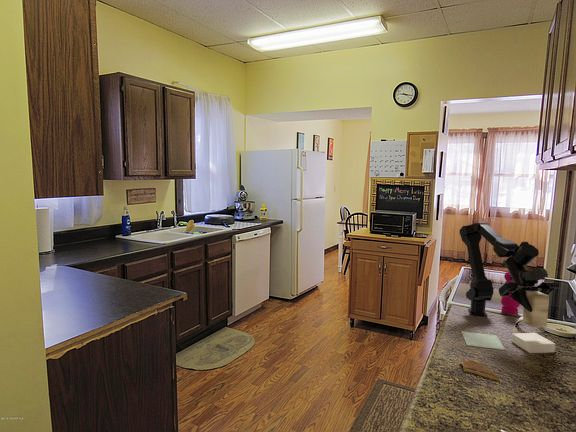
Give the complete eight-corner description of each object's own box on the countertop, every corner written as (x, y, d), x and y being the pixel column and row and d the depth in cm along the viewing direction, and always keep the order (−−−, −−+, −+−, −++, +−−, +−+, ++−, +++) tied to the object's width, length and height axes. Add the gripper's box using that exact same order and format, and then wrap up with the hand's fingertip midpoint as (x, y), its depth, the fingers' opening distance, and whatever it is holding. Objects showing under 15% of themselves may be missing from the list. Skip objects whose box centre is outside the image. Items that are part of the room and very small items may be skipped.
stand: (511, 341, 135) (512, 333, 135) (534, 340, 136) (535, 332, 136) (530, 353, 126) (530, 344, 126) (554, 352, 127) (555, 343, 127)
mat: (461, 332, 143) (461, 331, 143) (496, 336, 140) (496, 335, 140) (467, 345, 131) (467, 344, 131) (505, 350, 128) (505, 349, 128)
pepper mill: (522, 315, 161) (526, 269, 159) (506, 314, 161) (509, 269, 159) (513, 309, 168) (516, 265, 166) (496, 309, 168) (500, 265, 166)
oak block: (522, 321, 132) (524, 291, 131) (535, 321, 133) (538, 291, 132) (533, 327, 127) (535, 296, 126) (546, 326, 128) (549, 295, 127)
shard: (501, 383, 109) (501, 377, 108) (476, 384, 108) (476, 378, 108) (478, 364, 119) (478, 359, 119) (455, 365, 119) (456, 360, 118)
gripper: (506, 260, 131) (526, 301, 121) (555, 259, 133) (579, 300, 123) (490, 276, 139) (508, 315, 130) (536, 275, 141) (557, 314, 132)
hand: (538, 311), depth 128 cm, fingers closed on oak block, 5 cm apart
